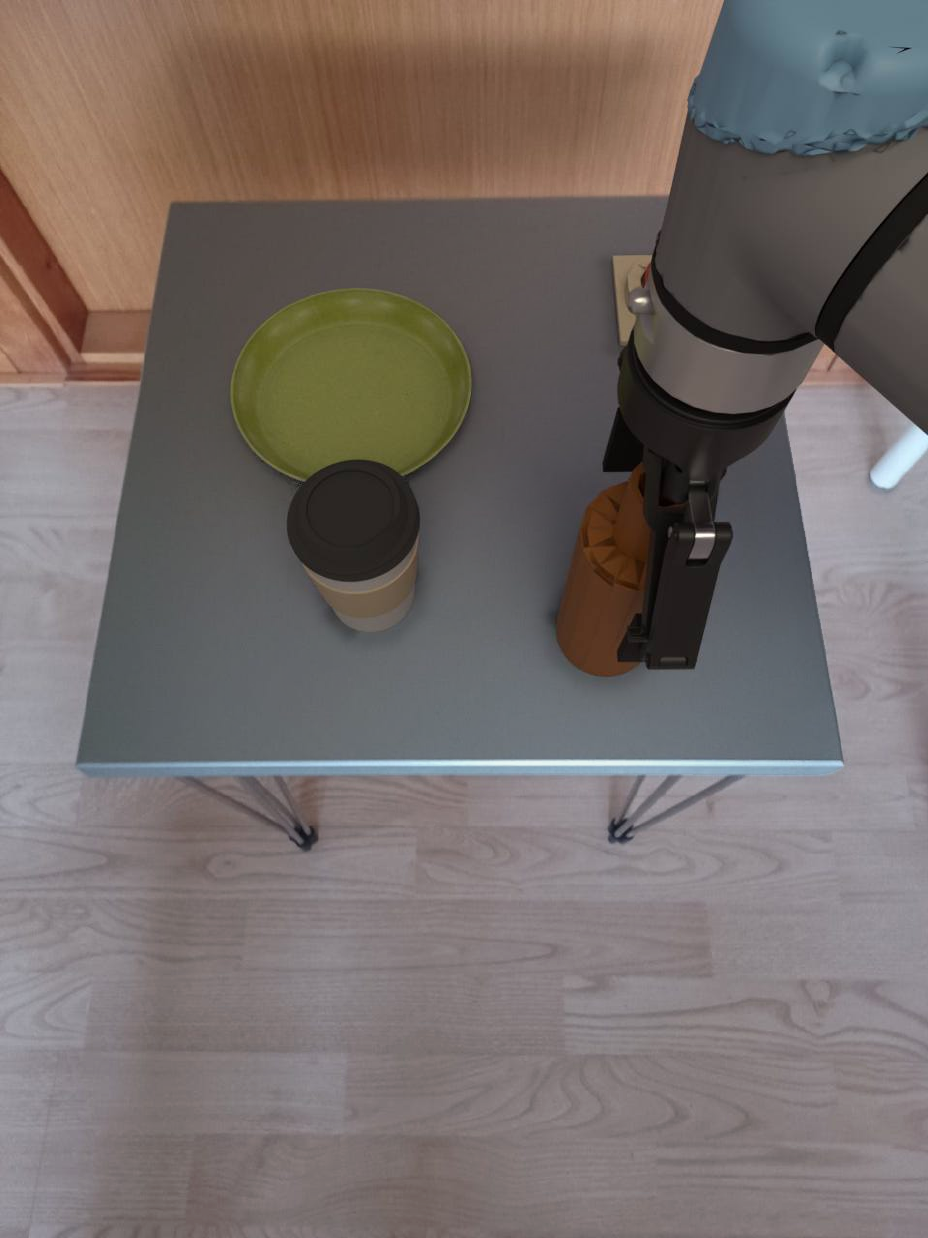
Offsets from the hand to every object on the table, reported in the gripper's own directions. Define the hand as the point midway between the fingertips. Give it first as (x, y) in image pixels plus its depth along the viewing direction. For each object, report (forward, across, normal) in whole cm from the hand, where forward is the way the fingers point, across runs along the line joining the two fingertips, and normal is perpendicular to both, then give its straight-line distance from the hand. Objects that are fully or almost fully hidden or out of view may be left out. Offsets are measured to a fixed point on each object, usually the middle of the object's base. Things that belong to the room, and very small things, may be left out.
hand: (630, 558), depth 57 cm
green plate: (+14, -22, -20) cm, 33 cm away
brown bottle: (+13, 0, 0) cm, 13 cm away
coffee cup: (+14, -3, -18) cm, 23 cm away
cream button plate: (+14, -32, +8) cm, 36 cm away
